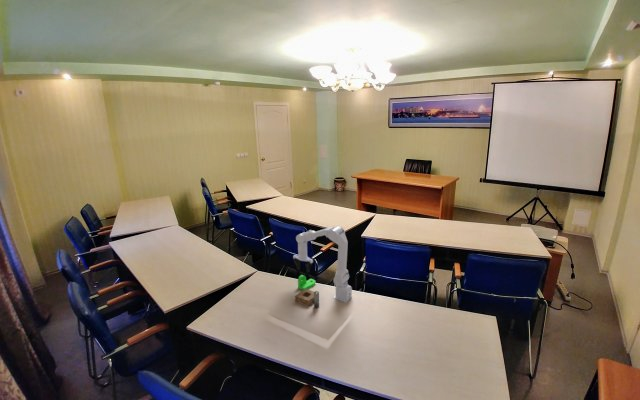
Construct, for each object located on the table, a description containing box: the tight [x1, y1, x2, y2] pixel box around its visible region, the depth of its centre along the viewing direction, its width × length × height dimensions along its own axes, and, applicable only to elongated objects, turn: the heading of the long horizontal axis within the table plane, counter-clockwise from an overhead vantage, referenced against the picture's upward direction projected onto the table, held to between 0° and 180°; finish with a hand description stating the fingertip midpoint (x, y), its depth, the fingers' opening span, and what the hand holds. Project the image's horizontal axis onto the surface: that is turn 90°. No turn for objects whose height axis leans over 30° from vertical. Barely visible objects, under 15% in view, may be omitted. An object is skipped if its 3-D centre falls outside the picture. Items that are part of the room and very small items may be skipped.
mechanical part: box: [297, 274, 316, 291], centre depth 187 cm, size 12×6×8 cm, turn 137°
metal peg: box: [313, 290, 320, 309], centre depth 163 cm, size 3×3×9 cm
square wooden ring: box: [294, 289, 315, 307], centre depth 171 cm, size 10×10×4 cm
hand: (303, 270), depth 186 cm, fingers open, 7 cm apart
